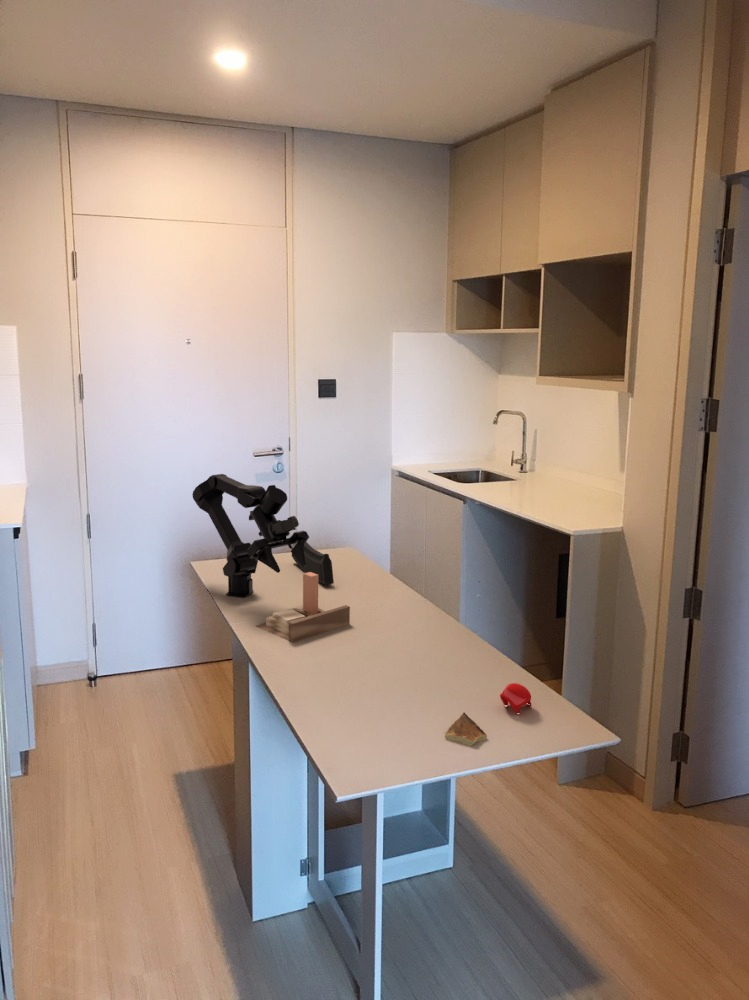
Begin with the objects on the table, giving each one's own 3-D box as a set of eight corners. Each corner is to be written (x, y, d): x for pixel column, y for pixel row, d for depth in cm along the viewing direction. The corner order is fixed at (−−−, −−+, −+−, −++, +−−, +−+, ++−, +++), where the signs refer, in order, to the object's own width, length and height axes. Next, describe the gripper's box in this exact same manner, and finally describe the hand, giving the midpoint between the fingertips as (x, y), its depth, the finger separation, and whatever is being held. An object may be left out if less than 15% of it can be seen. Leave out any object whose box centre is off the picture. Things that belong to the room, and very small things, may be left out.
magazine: (337, 562, 250) (304, 515, 273) (327, 563, 248) (295, 516, 272) (330, 607, 257) (299, 558, 281) (321, 608, 256) (290, 559, 280)
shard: (463, 718, 169) (463, 710, 169) (497, 727, 166) (498, 719, 165) (443, 740, 160) (443, 732, 159) (478, 750, 156) (479, 742, 156)
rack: (255, 629, 216) (255, 608, 215) (311, 612, 230) (311, 592, 229) (292, 646, 205) (292, 623, 204) (349, 627, 219) (349, 606, 218)
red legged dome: (513, 706, 167) (535, 689, 168) (495, 688, 171) (516, 671, 172) (518, 724, 173) (539, 707, 174) (500, 706, 177) (521, 689, 178)
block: (302, 618, 222) (303, 573, 220) (309, 616, 224) (310, 571, 221) (311, 621, 220) (311, 576, 217) (318, 619, 222) (318, 574, 219)
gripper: (253, 512, 219) (278, 559, 213) (305, 503, 232) (330, 547, 226) (236, 535, 226) (260, 581, 220) (288, 525, 239) (312, 568, 233)
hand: (292, 568), depth 225 cm, fingers open, 9 cm apart
